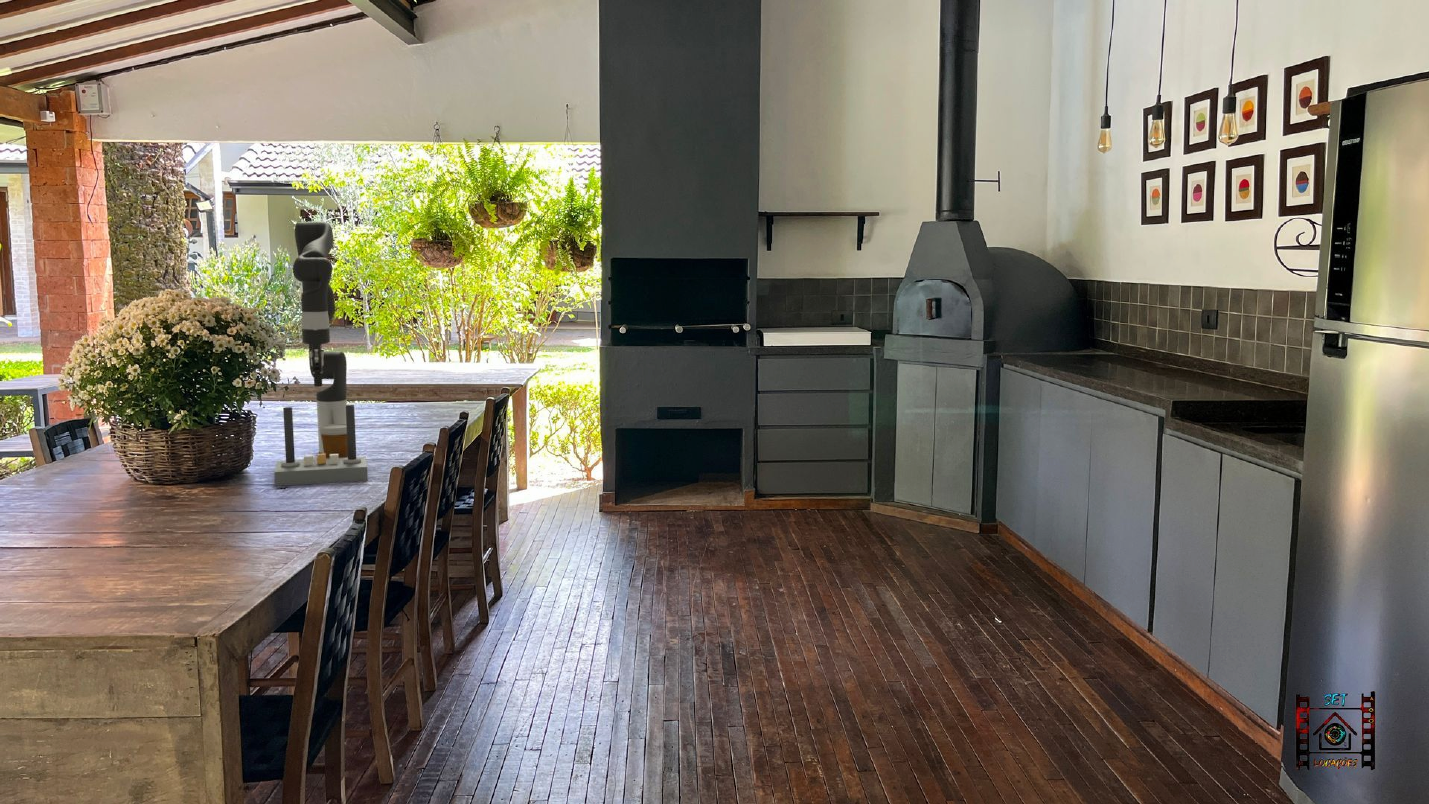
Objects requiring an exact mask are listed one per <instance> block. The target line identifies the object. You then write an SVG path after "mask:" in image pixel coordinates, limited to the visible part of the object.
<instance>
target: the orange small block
mask: <svg viewBox="0 0 1429 804" xmlns="http://www.w3.org/2000/svg"><path fill="white" fill-rule="evenodd" d="M316 459H317V464H323V463H326V453H325V454H324V453H316Z"/></svg>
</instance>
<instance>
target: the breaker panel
mask: <svg viewBox="0 0 1429 804" xmlns="http://www.w3.org/2000/svg"><path fill="white" fill-rule="evenodd" d="M357 457H358V458H361V462H360V463H357V464H345V463H343V459H345V458H339V457H338V454H330V458H327V459H326V463H323V464H317V458H314V454H310V455H308V454H307V455H304V456H303V459H295V461H300V466H297V467H281V462H284V461H285V460H277V461H276V465H275V468H274V472H273V474H274V475H273V476H274V487H278V486H279V487H281V486H294V485H295V486H296V485H310V484H311V485H313V484H329V483H345V482H362V481H365V482H366V481H368V462H367V456H357ZM346 458H348V457H346Z"/></svg>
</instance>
